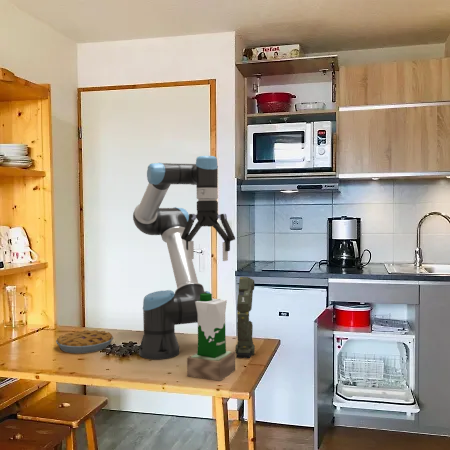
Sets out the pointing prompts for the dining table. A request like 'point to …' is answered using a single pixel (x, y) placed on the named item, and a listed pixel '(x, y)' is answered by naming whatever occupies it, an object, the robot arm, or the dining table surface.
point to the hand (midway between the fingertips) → (207, 260)
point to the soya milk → (211, 326)
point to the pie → (84, 341)
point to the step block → (211, 366)
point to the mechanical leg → (244, 319)
